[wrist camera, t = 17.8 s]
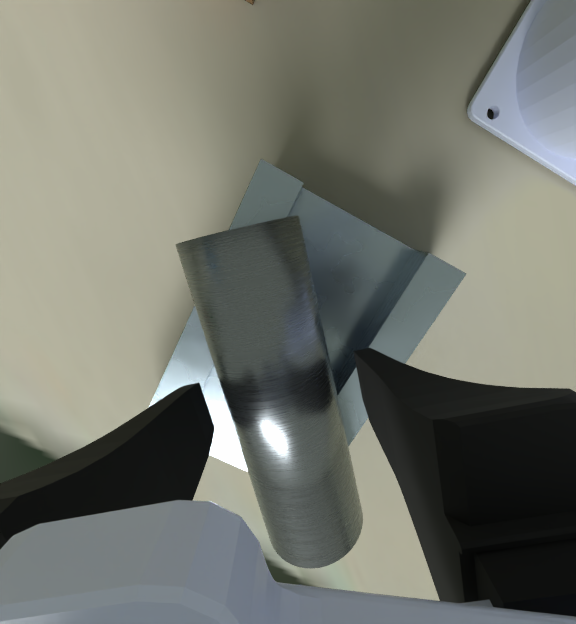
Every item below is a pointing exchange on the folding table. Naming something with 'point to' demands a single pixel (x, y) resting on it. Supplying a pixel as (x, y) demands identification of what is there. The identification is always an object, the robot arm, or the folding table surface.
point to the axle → (278, 384)
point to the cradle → (328, 300)
